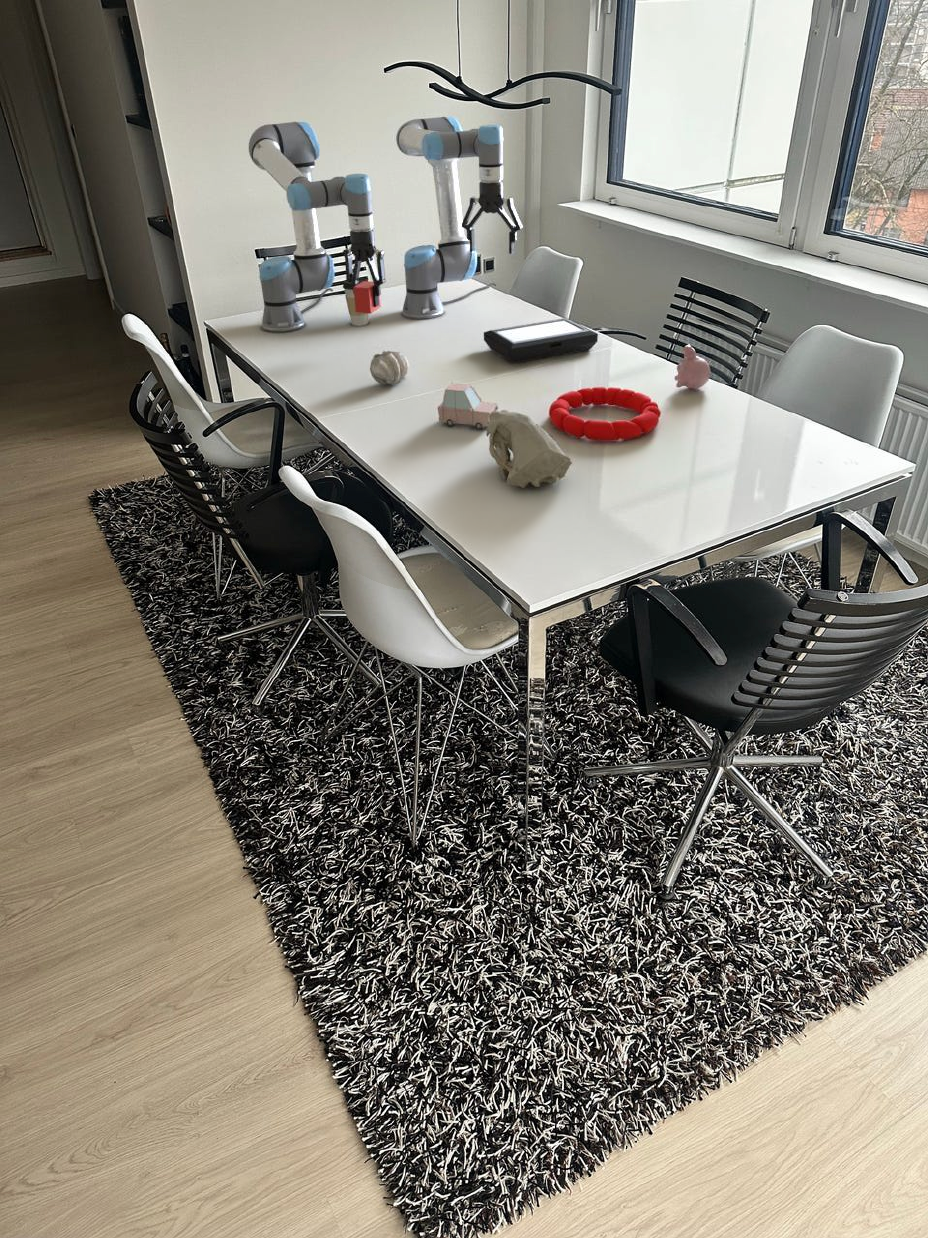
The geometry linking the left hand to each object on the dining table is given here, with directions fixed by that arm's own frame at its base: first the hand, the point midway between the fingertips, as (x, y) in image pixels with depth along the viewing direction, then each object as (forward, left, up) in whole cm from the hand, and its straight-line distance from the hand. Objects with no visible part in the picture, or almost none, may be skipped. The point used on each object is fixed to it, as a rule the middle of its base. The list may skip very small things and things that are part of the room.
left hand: (368, 304), depth 292 cm
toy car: (+70, +20, -15) cm, 75 cm away
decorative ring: (+78, +57, -15) cm, 98 cm away
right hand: (-5, +43, +13) cm, 45 cm away
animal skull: (+103, +27, -15) cm, 107 cm away
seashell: (+34, +3, -15) cm, 37 cm away
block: (0, 0, -2) cm, 2 cm away
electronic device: (+14, +55, -15) cm, 59 cm away
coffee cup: (-33, -1, -15) cm, 37 cm away
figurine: (+60, +89, -15) cm, 108 cm away
